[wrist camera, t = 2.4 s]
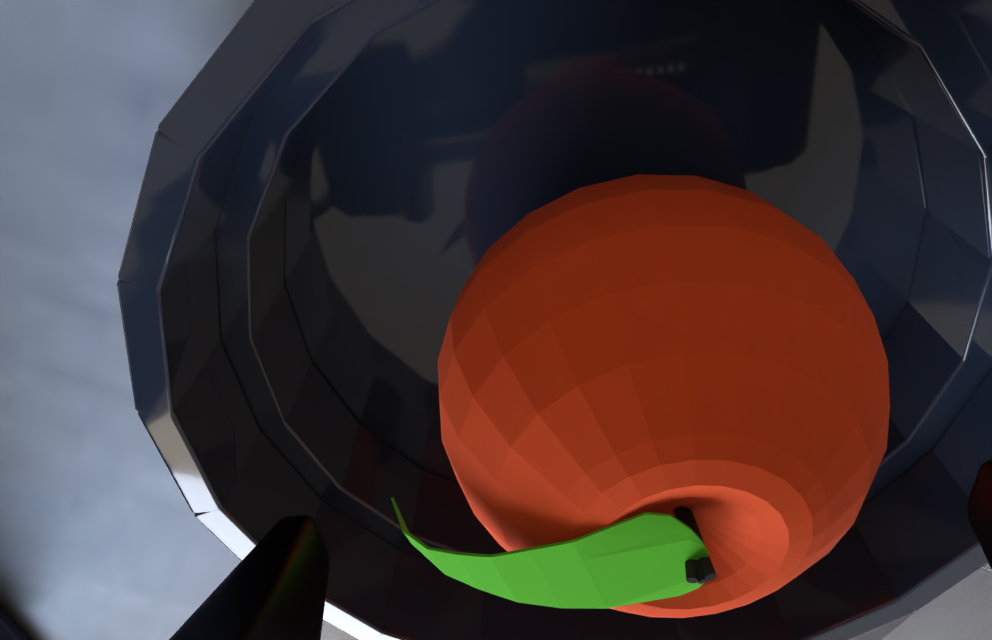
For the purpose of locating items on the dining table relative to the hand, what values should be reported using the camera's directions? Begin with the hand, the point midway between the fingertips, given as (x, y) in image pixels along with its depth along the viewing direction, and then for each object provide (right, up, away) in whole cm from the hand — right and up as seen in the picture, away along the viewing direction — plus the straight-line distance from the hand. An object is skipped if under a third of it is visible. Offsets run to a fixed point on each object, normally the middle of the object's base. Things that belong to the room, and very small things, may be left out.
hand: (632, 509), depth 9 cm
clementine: (0, +3, +5) cm, 6 cm away
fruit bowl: (0, +3, +5) cm, 6 cm away
